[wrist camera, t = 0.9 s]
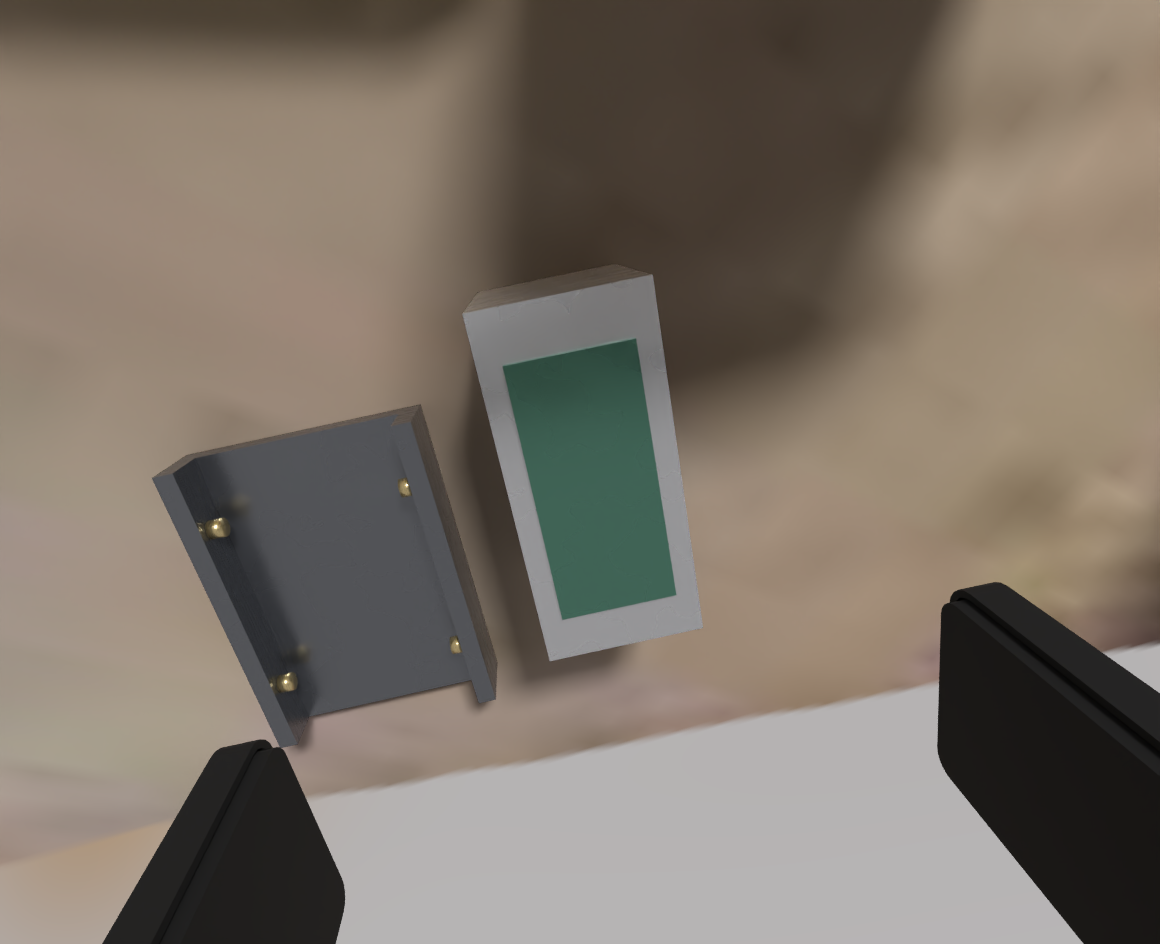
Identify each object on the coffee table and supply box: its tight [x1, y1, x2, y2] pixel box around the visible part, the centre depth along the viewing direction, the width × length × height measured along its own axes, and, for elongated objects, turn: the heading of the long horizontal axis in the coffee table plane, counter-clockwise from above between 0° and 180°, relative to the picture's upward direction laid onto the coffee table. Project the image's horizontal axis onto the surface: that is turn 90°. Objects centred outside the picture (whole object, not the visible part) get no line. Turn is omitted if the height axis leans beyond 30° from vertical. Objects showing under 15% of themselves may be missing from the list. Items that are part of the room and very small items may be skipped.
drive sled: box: [152, 405, 497, 748], centre depth 25 cm, size 9×12×2 cm
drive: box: [462, 264, 703, 661], centre depth 22 cm, size 5×11×7 cm, turn 11°
